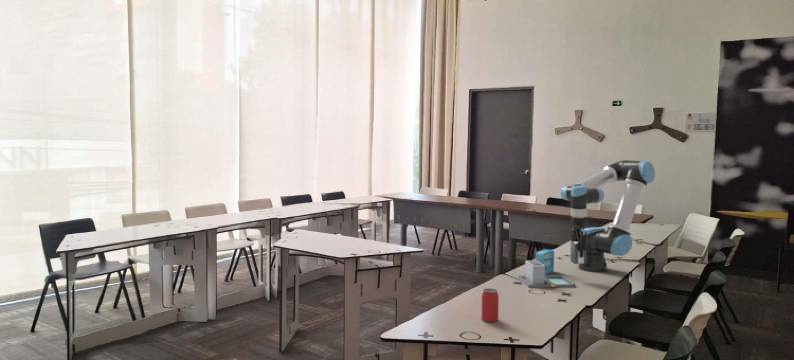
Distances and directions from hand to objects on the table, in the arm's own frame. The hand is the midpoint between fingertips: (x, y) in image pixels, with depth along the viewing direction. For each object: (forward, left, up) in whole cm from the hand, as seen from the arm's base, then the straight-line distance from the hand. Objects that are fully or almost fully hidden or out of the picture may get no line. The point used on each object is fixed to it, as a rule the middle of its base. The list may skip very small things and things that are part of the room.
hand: (578, 261), depth 268 cm
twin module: (+24, +3, -10) cm, 26 cm away
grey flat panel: (+18, +3, -10) cm, 20 cm away
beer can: (+59, +55, -10) cm, 81 cm away
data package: (+12, -17, -10) cm, 23 cm away
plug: (0, 0, 0) cm, 0 cm away
